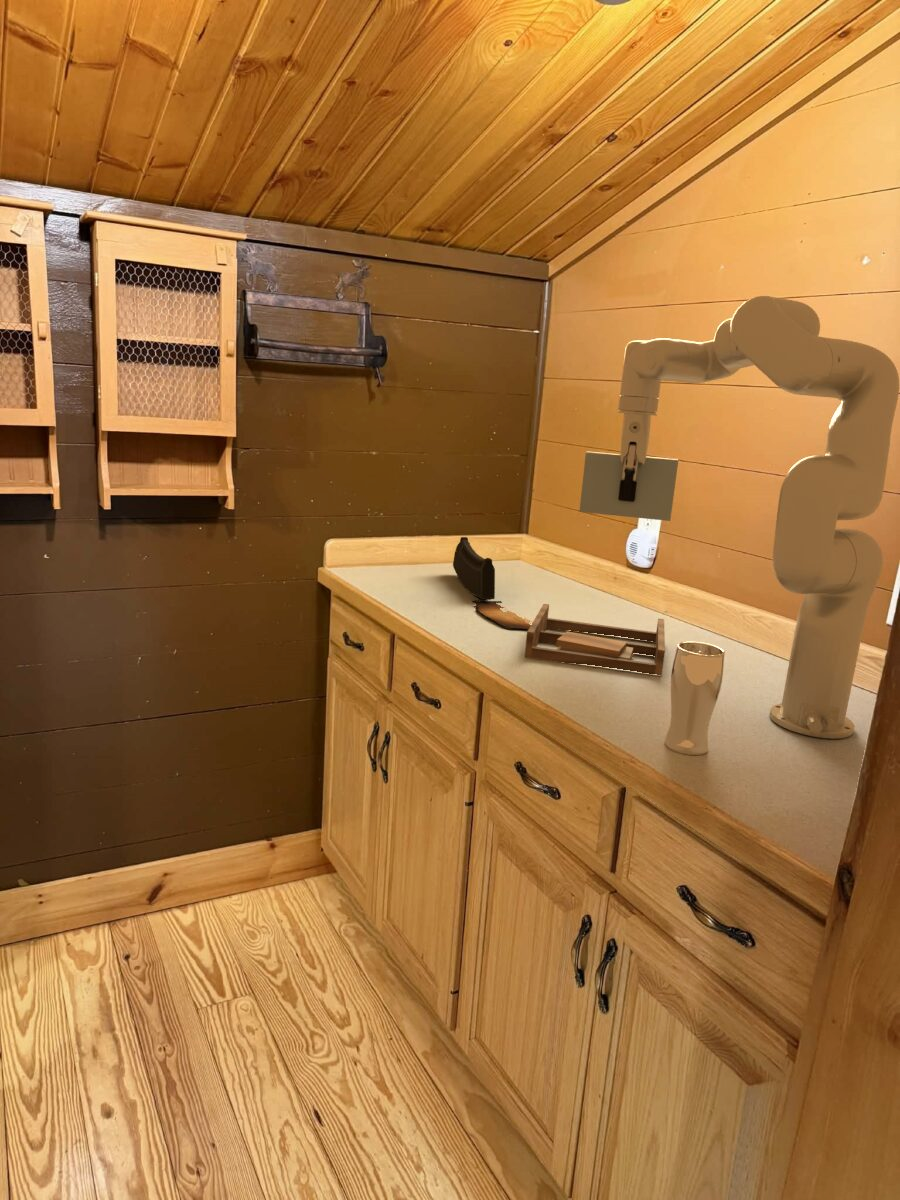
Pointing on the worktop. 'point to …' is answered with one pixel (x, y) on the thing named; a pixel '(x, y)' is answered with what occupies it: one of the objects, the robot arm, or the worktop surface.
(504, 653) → the worktop surface
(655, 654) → the rack
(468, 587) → the magazine
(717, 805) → the worktop surface
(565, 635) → the offcut stack
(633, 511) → the tall board
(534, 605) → the worktop surface
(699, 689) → the beer glass
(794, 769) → the worktop surface
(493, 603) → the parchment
